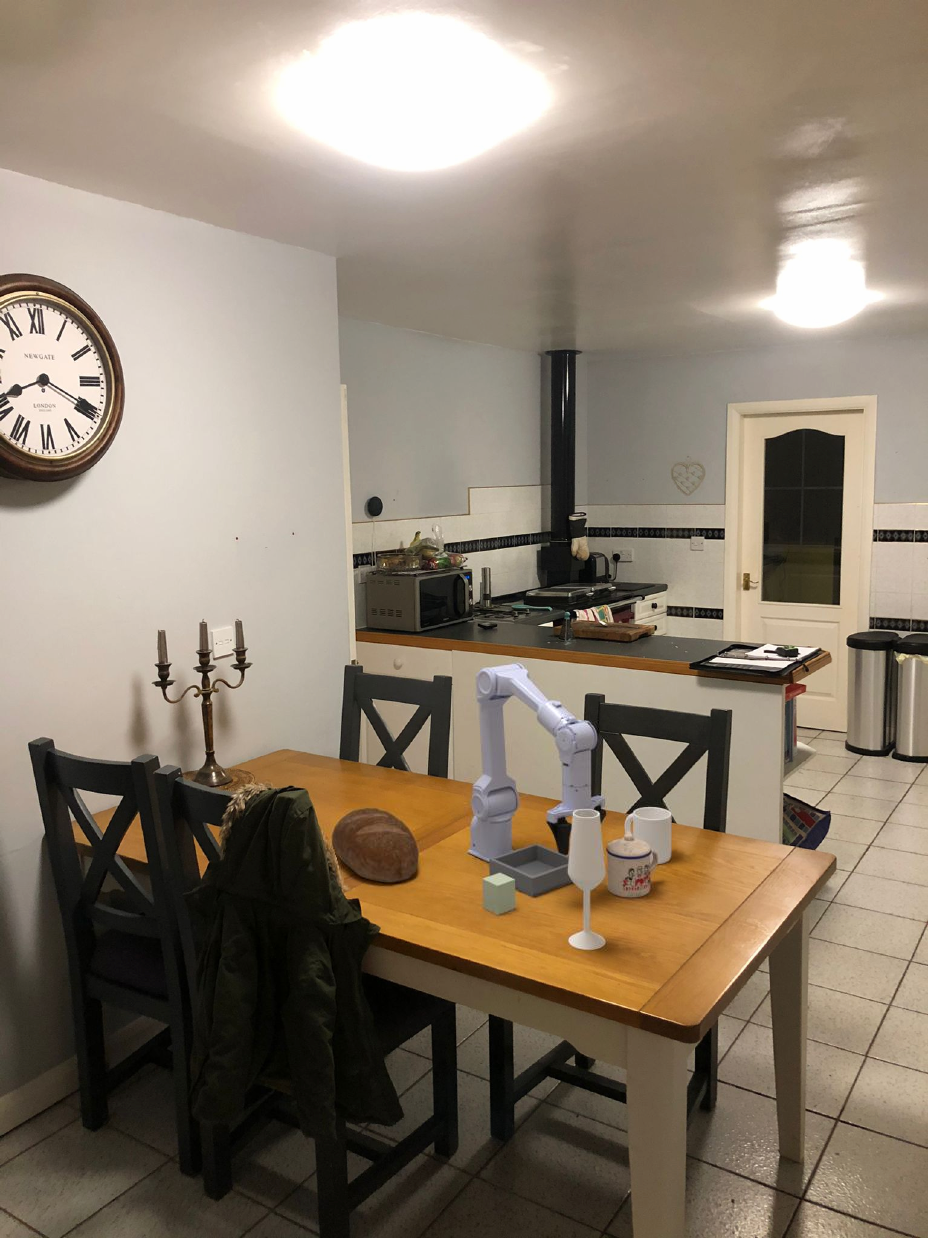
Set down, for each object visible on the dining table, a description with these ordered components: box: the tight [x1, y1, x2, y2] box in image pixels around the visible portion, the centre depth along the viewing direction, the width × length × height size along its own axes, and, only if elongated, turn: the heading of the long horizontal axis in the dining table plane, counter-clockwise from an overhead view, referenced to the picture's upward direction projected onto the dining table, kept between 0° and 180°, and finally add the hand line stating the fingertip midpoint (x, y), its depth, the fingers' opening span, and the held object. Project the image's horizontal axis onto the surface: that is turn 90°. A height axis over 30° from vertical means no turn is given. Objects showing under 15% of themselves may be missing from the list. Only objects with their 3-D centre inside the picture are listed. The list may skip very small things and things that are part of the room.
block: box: [482, 873, 516, 916], centre depth 187 cm, size 4×4×6 cm
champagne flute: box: [568, 809, 606, 951], centre depth 171 cm, size 7×7×24 cm
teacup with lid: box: [605, 833, 658, 899], centre depth 194 cm, size 12×9×12 cm
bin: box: [488, 842, 574, 898], centre depth 201 cm, size 14×14×4 cm
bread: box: [331, 807, 420, 884], centre depth 212 cm, size 16×29×11 cm, turn 28°
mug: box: [624, 806, 672, 865], centre depth 211 cm, size 12×8×10 cm
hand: (576, 848), depth 190 cm, fingers open, 7 cm apart
